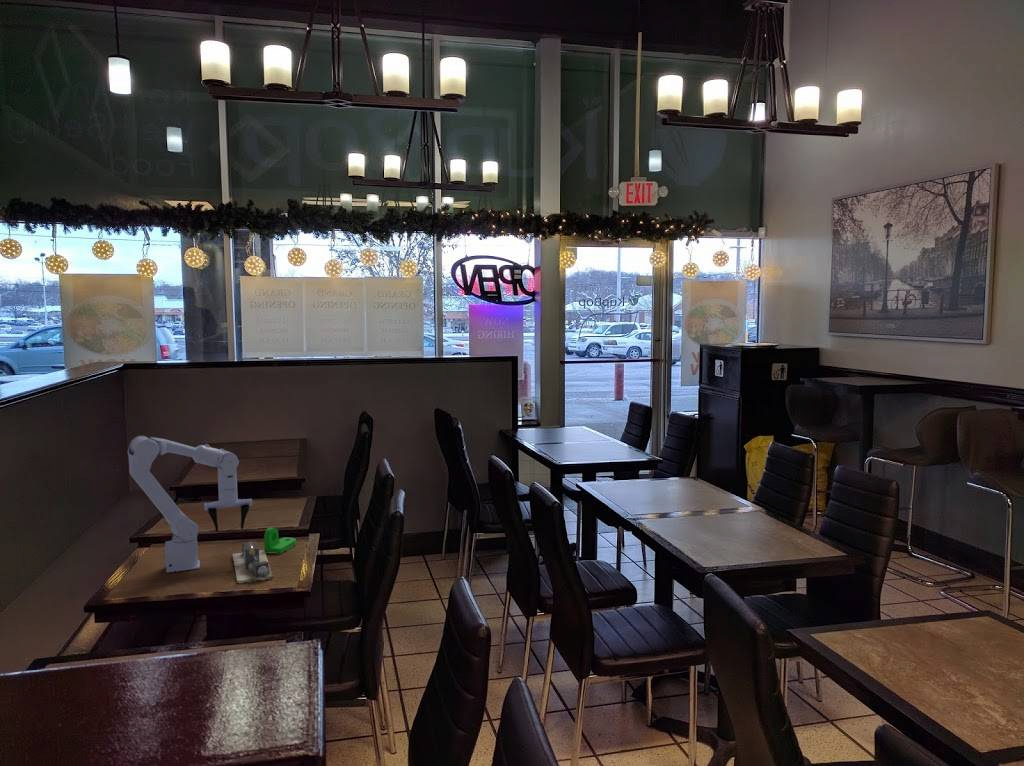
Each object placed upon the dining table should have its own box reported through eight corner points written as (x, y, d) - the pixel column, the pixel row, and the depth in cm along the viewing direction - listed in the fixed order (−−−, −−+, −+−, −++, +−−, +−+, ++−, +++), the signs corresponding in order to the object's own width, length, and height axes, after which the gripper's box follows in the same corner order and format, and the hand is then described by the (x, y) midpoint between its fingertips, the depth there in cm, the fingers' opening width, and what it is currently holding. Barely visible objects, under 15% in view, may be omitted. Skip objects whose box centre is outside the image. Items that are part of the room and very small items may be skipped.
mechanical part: (280, 554, 246) (280, 531, 245) (264, 553, 247) (263, 530, 246) (299, 543, 257) (298, 521, 257) (283, 542, 259) (283, 520, 258)
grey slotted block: (245, 569, 228) (245, 550, 227) (243, 561, 236) (243, 542, 236) (259, 568, 229) (258, 548, 229) (257, 559, 238) (256, 540, 237)
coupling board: (237, 583, 218) (237, 581, 218) (232, 556, 244) (232, 553, 244) (272, 578, 222) (272, 576, 222) (264, 552, 248) (264, 549, 248)
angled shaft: (246, 572, 226) (246, 560, 225) (259, 569, 228) (259, 557, 228) (258, 578, 220) (257, 566, 220) (271, 575, 223) (270, 563, 222)
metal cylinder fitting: (256, 557, 239) (256, 546, 239) (243, 559, 238) (243, 548, 237) (254, 550, 247) (254, 540, 246) (242, 552, 245) (241, 541, 245)
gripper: (203, 493, 234) (205, 535, 235) (252, 488, 240) (253, 529, 241) (203, 488, 241) (205, 529, 242) (250, 484, 246) (252, 524, 247)
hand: (229, 529), depth 242 cm, fingers open, 7 cm apart
